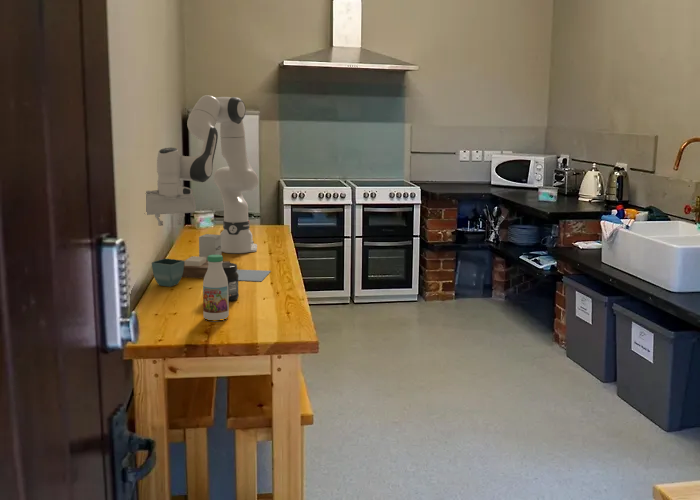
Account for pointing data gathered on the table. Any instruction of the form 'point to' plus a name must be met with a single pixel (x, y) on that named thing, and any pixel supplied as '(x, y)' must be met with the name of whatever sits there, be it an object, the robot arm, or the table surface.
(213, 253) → the supplement box
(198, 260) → the beige rectangular block
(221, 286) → the milk bottle
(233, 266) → the supplement container
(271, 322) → the table surface
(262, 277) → the mat
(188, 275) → the board
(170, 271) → the flower pot
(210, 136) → the robot arm
